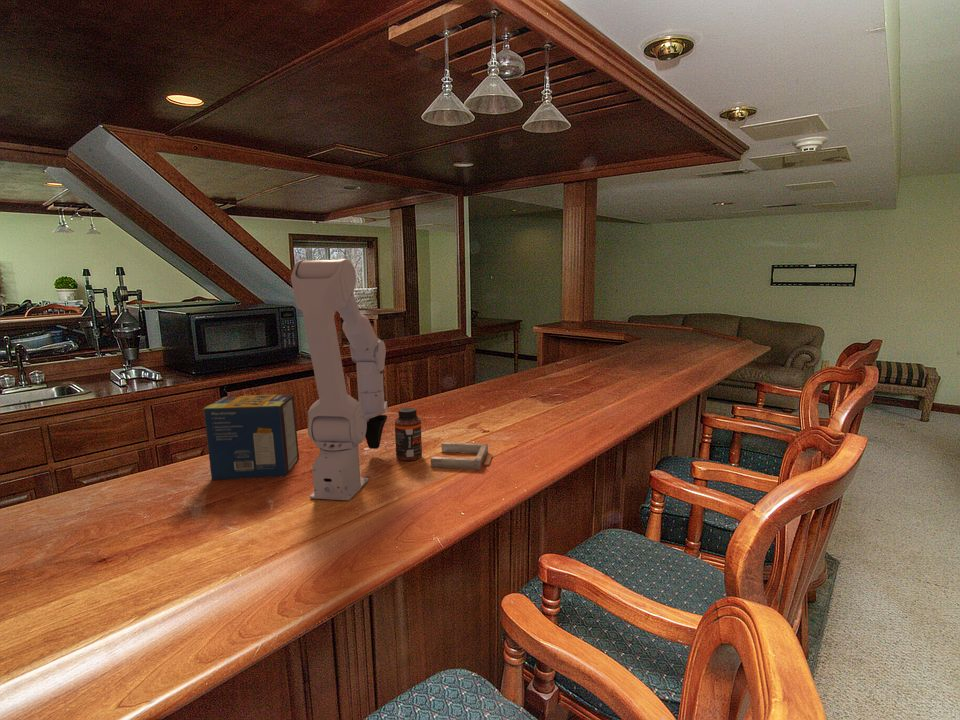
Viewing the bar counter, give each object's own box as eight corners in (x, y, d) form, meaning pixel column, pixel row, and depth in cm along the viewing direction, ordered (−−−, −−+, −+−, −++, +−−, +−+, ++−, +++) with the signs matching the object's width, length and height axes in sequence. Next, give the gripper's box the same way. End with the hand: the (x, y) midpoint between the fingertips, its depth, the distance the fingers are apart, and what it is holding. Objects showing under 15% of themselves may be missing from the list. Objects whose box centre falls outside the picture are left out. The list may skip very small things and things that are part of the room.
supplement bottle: (417, 462, 110) (415, 413, 108) (392, 461, 111) (389, 412, 109) (425, 453, 116) (423, 406, 114) (401, 452, 117) (399, 405, 115)
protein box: (230, 462, 113) (223, 395, 110) (299, 458, 114) (294, 393, 111) (210, 481, 102) (201, 408, 100) (286, 476, 104) (280, 405, 101)
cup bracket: (486, 470, 105) (486, 461, 105) (430, 467, 107) (430, 458, 107) (494, 452, 116) (493, 444, 115) (442, 450, 118) (442, 442, 117)
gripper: (366, 383, 120) (369, 437, 122) (340, 397, 106) (344, 458, 108) (394, 383, 119) (397, 438, 121) (371, 398, 105) (375, 459, 107)
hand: (374, 447), depth 115 cm, fingers closed
